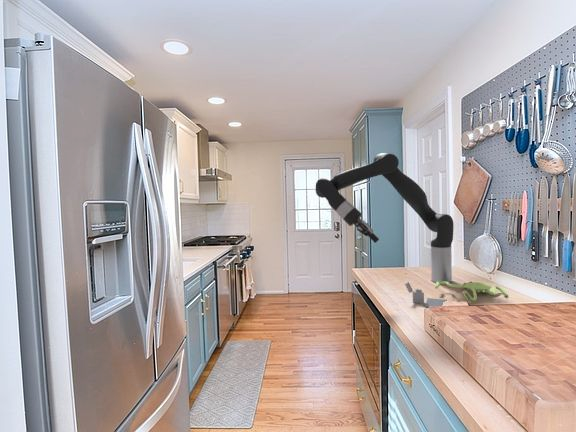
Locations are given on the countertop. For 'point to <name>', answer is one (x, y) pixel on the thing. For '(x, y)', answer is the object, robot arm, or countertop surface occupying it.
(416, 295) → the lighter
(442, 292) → the countertop surface
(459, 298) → the countertop surface
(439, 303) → the slate pad
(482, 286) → the figurine
